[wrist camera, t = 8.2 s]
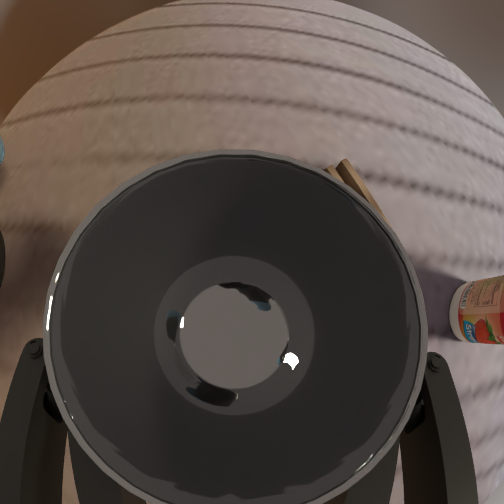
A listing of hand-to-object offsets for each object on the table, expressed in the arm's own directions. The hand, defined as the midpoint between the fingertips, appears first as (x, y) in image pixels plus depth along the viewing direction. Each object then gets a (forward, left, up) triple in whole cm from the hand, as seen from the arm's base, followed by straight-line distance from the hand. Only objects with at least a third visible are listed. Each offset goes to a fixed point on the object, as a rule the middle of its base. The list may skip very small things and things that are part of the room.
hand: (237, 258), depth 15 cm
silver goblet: (+3, -2, -6) cm, 7 cm away
